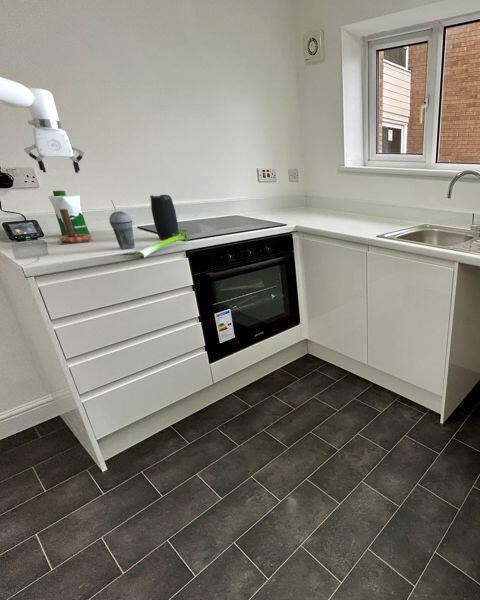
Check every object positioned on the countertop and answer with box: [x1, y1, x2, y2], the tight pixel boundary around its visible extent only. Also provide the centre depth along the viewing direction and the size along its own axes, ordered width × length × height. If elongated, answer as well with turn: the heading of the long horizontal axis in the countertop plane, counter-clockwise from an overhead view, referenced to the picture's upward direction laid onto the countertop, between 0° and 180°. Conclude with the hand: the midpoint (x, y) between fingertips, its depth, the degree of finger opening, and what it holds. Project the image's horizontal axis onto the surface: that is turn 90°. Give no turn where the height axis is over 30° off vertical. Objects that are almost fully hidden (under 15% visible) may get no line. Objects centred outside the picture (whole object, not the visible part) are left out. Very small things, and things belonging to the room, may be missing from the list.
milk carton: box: [47, 190, 91, 236], centre depth 160 cm, size 9×9×20 cm
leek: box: [133, 229, 191, 259], centre depth 146 cm, size 6×7×30 cm
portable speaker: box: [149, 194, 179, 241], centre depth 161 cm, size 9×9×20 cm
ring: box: [58, 234, 92, 242], centre depth 149 cm, size 10×10×2 cm
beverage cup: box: [108, 199, 136, 251], centre depth 138 cm, size 7×7×20 cm
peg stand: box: [57, 209, 89, 246], centre depth 146 cm, size 9×9×14 cm
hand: (61, 172), depth 141 cm, fingers open, 9 cm apart
